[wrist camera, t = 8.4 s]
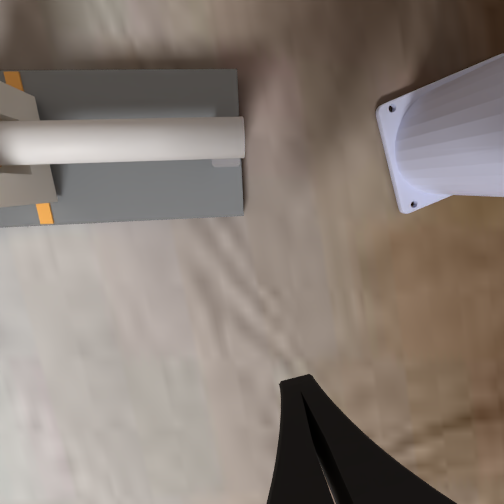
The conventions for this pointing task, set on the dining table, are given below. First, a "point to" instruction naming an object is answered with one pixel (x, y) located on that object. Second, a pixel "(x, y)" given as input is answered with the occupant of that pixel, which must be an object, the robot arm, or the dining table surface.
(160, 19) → the dining table surface
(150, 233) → the dining table surface
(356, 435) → the robot arm
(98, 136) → the pipe stand
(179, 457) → the dining table surface
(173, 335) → the dining table surface
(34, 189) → the collar
